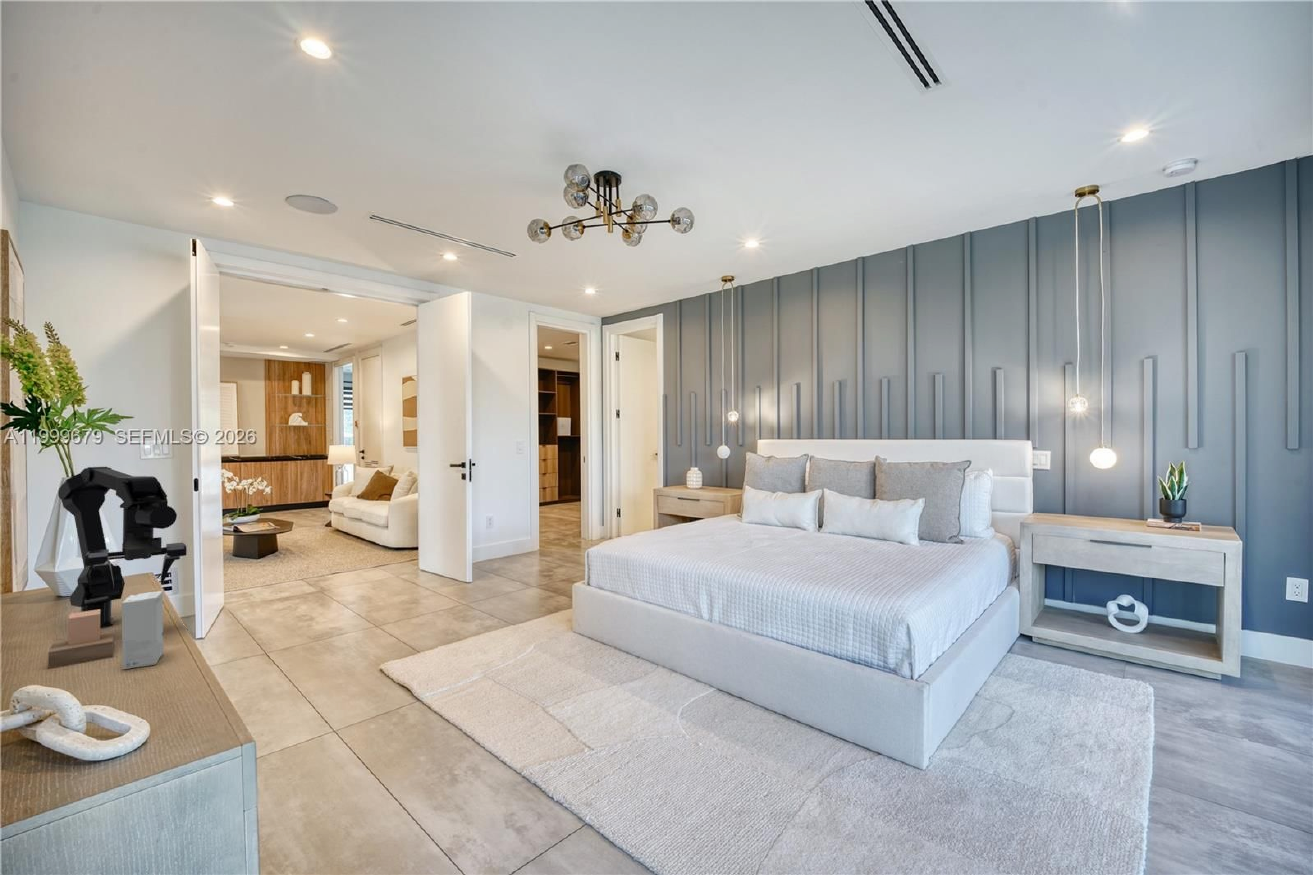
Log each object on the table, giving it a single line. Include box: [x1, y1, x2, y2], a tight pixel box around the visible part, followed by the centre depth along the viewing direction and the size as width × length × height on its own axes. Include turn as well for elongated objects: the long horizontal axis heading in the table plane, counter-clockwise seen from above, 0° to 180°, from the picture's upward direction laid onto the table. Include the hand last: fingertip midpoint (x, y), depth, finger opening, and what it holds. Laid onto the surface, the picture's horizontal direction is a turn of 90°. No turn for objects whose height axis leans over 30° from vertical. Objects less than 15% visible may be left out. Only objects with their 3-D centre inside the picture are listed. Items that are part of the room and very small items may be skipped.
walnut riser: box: [47, 629, 116, 670], centre depth 128 cm, size 10×10×4 cm
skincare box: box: [121, 590, 164, 670], centre depth 125 cm, size 8×6×15 cm
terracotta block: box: [67, 609, 101, 646], centre depth 129 cm, size 5×5×6 cm
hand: (137, 587), depth 142 cm, fingers open, 9 cm apart
